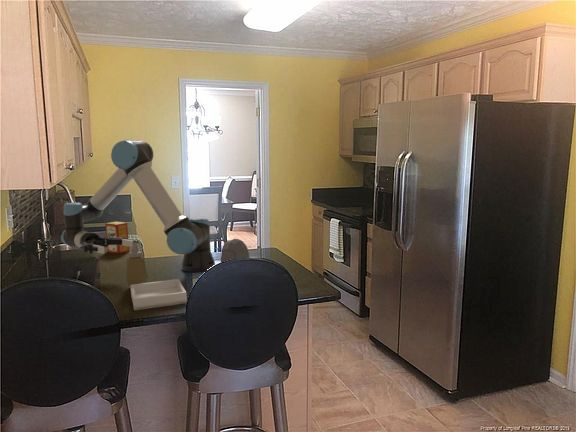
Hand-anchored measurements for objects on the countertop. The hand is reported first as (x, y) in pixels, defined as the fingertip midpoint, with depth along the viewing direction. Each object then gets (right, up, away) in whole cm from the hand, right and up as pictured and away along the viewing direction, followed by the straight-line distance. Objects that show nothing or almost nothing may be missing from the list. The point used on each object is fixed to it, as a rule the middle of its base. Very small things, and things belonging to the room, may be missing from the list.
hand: (118, 247), depth 187 cm
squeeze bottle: (+9, -16, -3) cm, 19 cm away
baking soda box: (-22, -7, +60) cm, 65 cm away
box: (+21, -18, -17) cm, 33 cm away
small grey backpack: (+49, -16, -7) cm, 52 cm away
